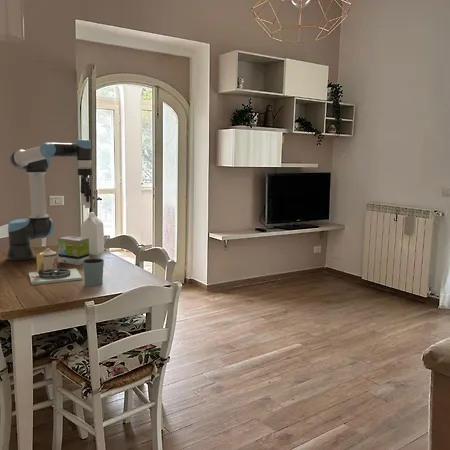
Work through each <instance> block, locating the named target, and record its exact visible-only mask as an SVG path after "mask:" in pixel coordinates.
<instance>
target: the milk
mask: <svg viewBox="0 0 450 450" xmlns="http://www.w3.org/2000/svg"><path fill="white" fill-rule="evenodd" d="M104 230H105V229H104V223H103V221H102V220H100V219H99V218H98V217H97V215H96V213H95V211H91V212H88V217H87V218H86V219H85V220H84V221H83V222H82V223H81V225H80V237H84V238H89V254H91V255H93V256H98V255H100V254H102V253H104V252H105V251H106V247H105V248H104V244H105V233H104ZM104 250H105V251H104ZM103 251H104V252H103ZM91 255H90V256H91Z"/></svg>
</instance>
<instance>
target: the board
mask: <svg viewBox="0 0 450 450" xmlns="http://www.w3.org/2000/svg"><path fill="white" fill-rule="evenodd" d="M67 269H68V270H70V271H71V273H70V275H68V276H66V277H61V278H42V277H39V274H38V273H37V271H34V272H33V271H32V272H31V271H30V272H28V277H29V280H30V283H31V285H41V284H42V285H44V284H52V283H63V282H74V281H81V280H83V277H82V275H81V274H80V272H79V270H78V269H77V268H67ZM60 272H63V271H60ZM49 276H51V275H49Z"/></svg>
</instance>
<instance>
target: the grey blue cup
mask: <svg viewBox="0 0 450 450" xmlns="http://www.w3.org/2000/svg"><path fill="white" fill-rule="evenodd" d="M104 263H105V261H104V259H103V258H97V257H93V258H92V257H91V258H90V257H89V259H85V260H83V264H82V268H83V277H84V285H85V286H87V287H98V286H102V284H103V283H104V282H103V281H104V280H103V279H104V265H105V264H104Z"/></svg>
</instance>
